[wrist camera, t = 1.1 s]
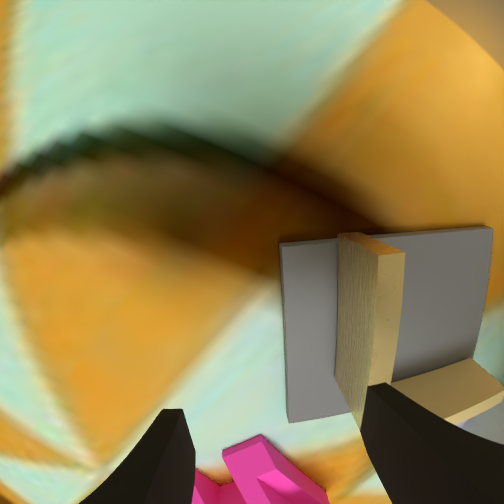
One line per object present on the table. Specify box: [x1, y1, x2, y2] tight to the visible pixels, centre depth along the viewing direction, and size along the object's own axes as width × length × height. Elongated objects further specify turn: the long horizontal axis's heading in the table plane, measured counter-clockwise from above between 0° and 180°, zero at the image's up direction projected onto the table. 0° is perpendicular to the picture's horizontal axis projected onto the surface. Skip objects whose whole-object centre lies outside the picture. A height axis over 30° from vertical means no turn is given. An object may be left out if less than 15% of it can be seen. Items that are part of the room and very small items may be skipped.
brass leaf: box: [335, 232, 405, 429], centre depth 14 cm, size 9×1×5 cm, turn 4°
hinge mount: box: [279, 226, 504, 425], centre depth 15 cm, size 15×12×6 cm
